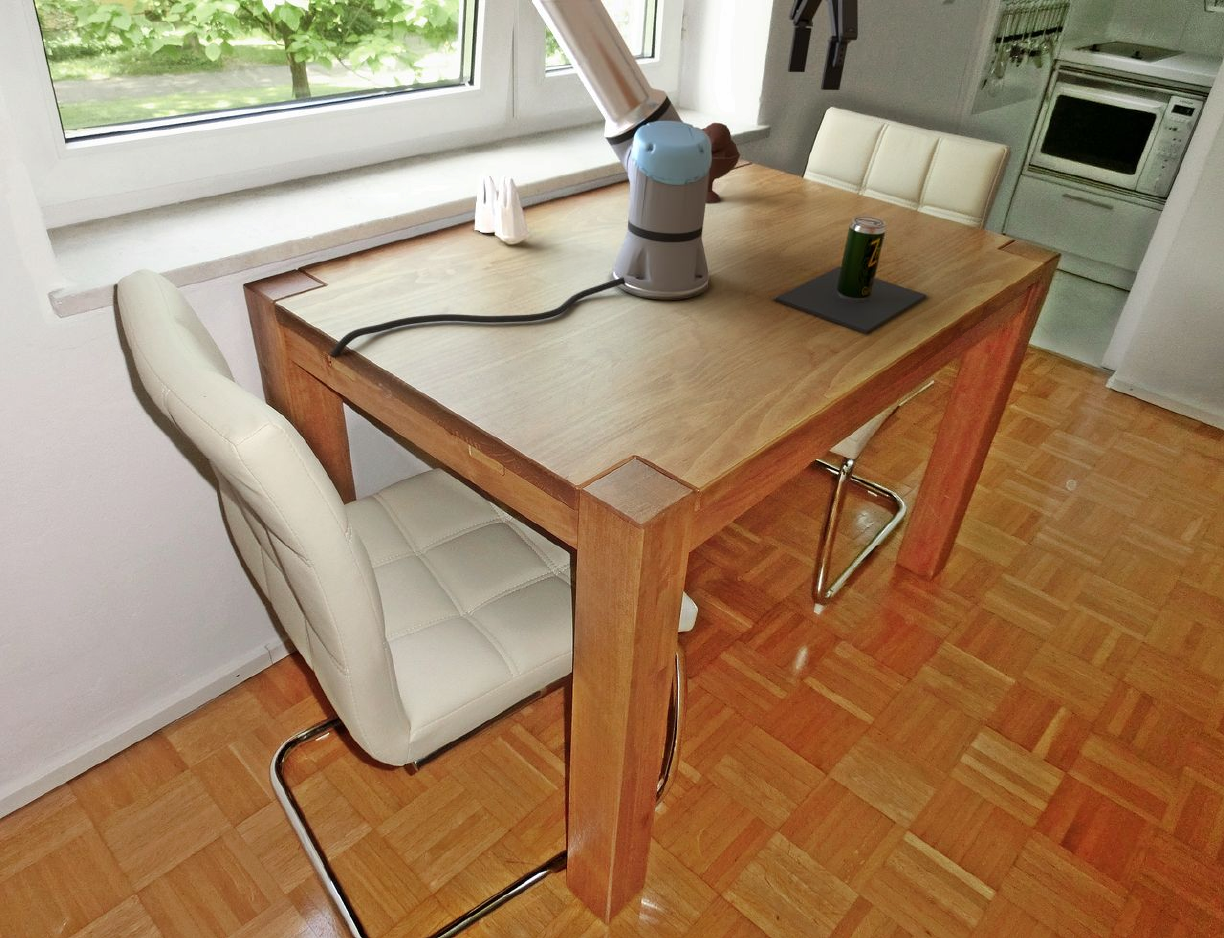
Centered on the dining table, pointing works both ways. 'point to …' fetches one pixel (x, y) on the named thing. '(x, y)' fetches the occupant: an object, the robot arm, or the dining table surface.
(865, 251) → the beer can
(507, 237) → the shaker set
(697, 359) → the dining table surface
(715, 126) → the ice cream bowl
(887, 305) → the place mat
